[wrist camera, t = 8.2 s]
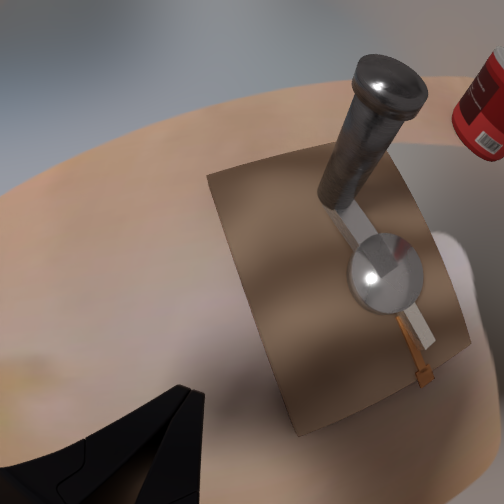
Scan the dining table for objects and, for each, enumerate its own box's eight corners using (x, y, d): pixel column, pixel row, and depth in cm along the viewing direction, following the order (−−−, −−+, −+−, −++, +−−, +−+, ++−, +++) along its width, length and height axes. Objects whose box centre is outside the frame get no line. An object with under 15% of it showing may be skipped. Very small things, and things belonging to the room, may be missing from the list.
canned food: (509, 162, 24) (563, 110, 14) (473, 166, 24) (535, 101, 13) (478, 110, 26) (520, 53, 16) (438, 108, 26) (482, 38, 15)
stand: (462, 351, 18) (475, 351, 17) (297, 438, 17) (302, 446, 15) (370, 144, 24) (376, 132, 22) (208, 185, 22) (206, 173, 20)
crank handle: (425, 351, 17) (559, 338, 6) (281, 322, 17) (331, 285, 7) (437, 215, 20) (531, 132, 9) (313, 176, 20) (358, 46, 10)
